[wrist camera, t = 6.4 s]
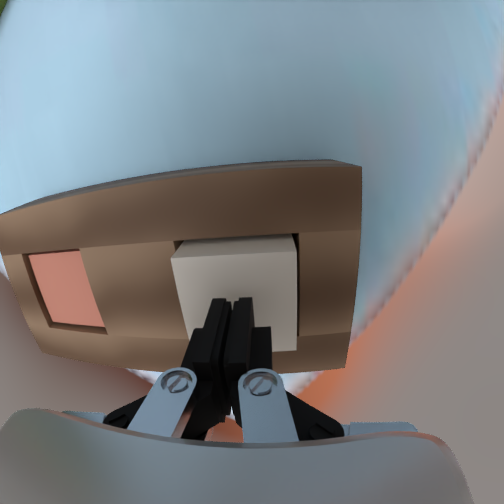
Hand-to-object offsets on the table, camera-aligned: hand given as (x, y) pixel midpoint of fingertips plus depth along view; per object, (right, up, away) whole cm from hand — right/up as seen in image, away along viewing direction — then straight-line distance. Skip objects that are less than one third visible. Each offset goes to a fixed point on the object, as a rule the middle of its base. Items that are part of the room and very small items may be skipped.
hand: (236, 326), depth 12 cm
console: (-6, +3, +8) cm, 10 cm away
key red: (-12, +2, +8) cm, 14 cm away
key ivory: (0, +2, +5) cm, 6 cm away
